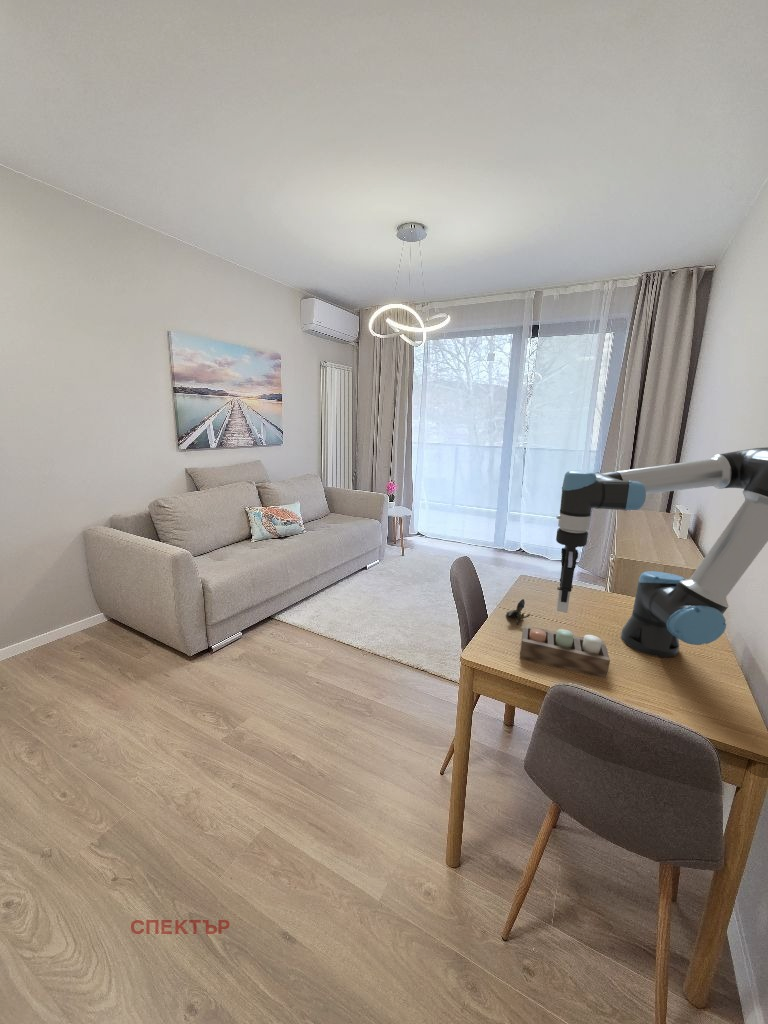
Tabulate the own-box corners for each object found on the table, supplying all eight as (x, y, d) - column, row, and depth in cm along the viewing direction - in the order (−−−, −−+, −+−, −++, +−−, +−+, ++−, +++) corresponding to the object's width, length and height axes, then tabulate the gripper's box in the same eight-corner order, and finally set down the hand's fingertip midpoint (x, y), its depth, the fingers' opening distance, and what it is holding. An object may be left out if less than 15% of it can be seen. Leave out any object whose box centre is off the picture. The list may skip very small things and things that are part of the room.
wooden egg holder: (601, 659, 119) (604, 641, 117) (606, 678, 109) (610, 660, 108) (521, 641, 126) (523, 624, 125) (519, 658, 117) (522, 641, 116)
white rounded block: (597, 652, 116) (600, 636, 115) (599, 661, 112) (602, 644, 111) (580, 649, 117) (583, 633, 116) (581, 657, 113) (584, 640, 112)
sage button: (570, 647, 118) (573, 631, 117) (571, 654, 114) (574, 638, 113) (554, 643, 120) (556, 627, 119) (554, 651, 116) (557, 635, 115)
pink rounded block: (543, 646, 121) (546, 630, 120) (543, 653, 117) (546, 637, 116) (528, 642, 122) (530, 627, 121) (527, 650, 118) (529, 634, 117)
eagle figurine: (535, 623, 135) (528, 606, 143) (526, 607, 133) (520, 591, 141) (513, 632, 137) (508, 615, 145) (504, 616, 135) (499, 600, 143)
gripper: (557, 522, 117) (547, 599, 122) (558, 533, 105) (547, 618, 111) (586, 525, 114) (575, 603, 120) (590, 537, 103) (578, 624, 108)
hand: (561, 610), depth 115 cm, fingers closed
